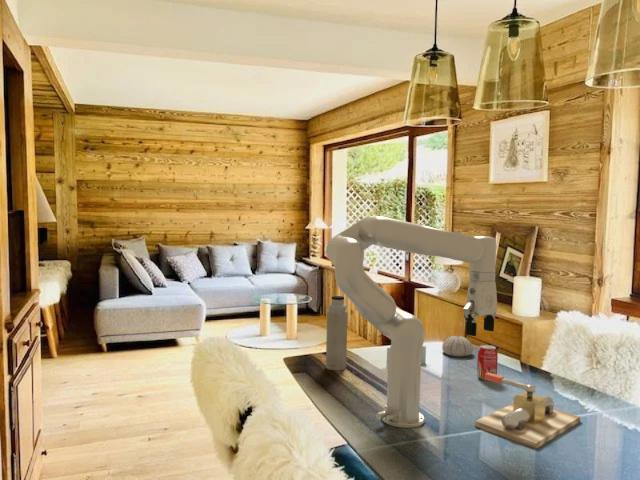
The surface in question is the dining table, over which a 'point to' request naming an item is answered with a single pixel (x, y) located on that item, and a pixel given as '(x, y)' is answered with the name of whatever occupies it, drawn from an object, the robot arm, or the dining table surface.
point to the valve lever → (509, 382)
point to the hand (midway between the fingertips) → (480, 332)
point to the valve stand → (528, 420)
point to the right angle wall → (423, 354)
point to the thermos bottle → (336, 334)
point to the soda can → (487, 360)
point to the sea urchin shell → (457, 346)
